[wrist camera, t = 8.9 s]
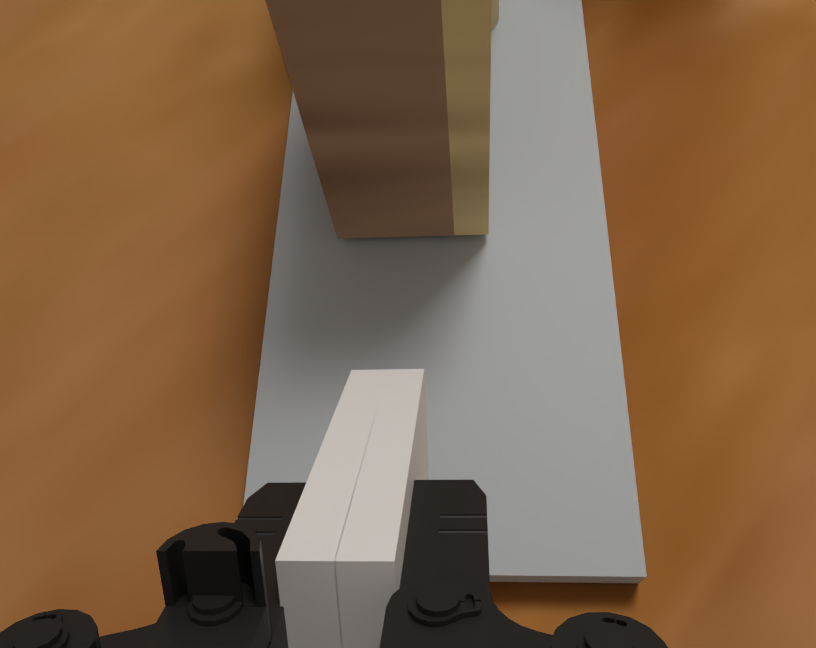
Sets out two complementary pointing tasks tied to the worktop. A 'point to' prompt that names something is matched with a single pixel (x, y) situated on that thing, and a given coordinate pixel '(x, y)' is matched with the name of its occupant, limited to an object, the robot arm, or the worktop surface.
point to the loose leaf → (394, 110)
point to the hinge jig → (477, 323)
